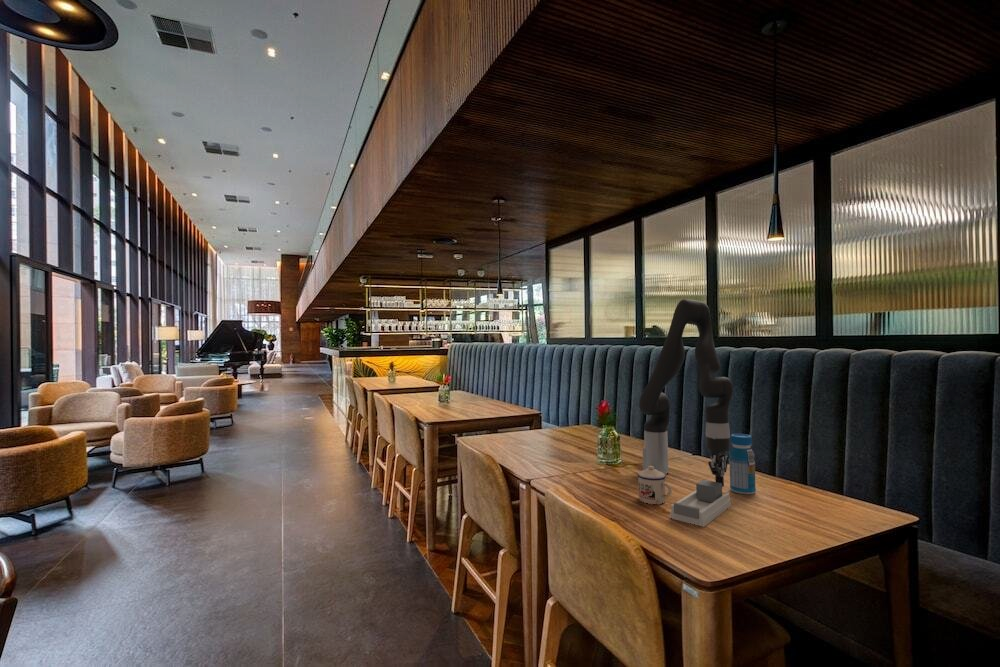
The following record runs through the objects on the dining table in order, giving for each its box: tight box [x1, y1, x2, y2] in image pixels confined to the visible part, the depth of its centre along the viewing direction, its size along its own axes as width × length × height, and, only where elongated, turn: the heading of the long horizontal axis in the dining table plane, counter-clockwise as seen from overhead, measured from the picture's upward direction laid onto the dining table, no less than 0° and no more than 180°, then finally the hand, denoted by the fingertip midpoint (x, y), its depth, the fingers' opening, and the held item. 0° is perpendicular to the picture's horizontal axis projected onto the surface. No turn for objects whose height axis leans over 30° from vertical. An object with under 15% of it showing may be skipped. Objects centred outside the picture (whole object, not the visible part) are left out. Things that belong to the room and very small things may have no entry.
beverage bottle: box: [728, 433, 757, 495], centre depth 164 cm, size 8×8×20 cm
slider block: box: [695, 479, 723, 503], centre depth 149 cm, size 6×6×5 cm
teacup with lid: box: [637, 466, 673, 505], centre depth 154 cm, size 12×9×12 cm
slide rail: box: [669, 490, 732, 528], centre depth 144 cm, size 10×24×5 cm, turn 135°
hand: (719, 486), depth 155 cm, fingers closed
